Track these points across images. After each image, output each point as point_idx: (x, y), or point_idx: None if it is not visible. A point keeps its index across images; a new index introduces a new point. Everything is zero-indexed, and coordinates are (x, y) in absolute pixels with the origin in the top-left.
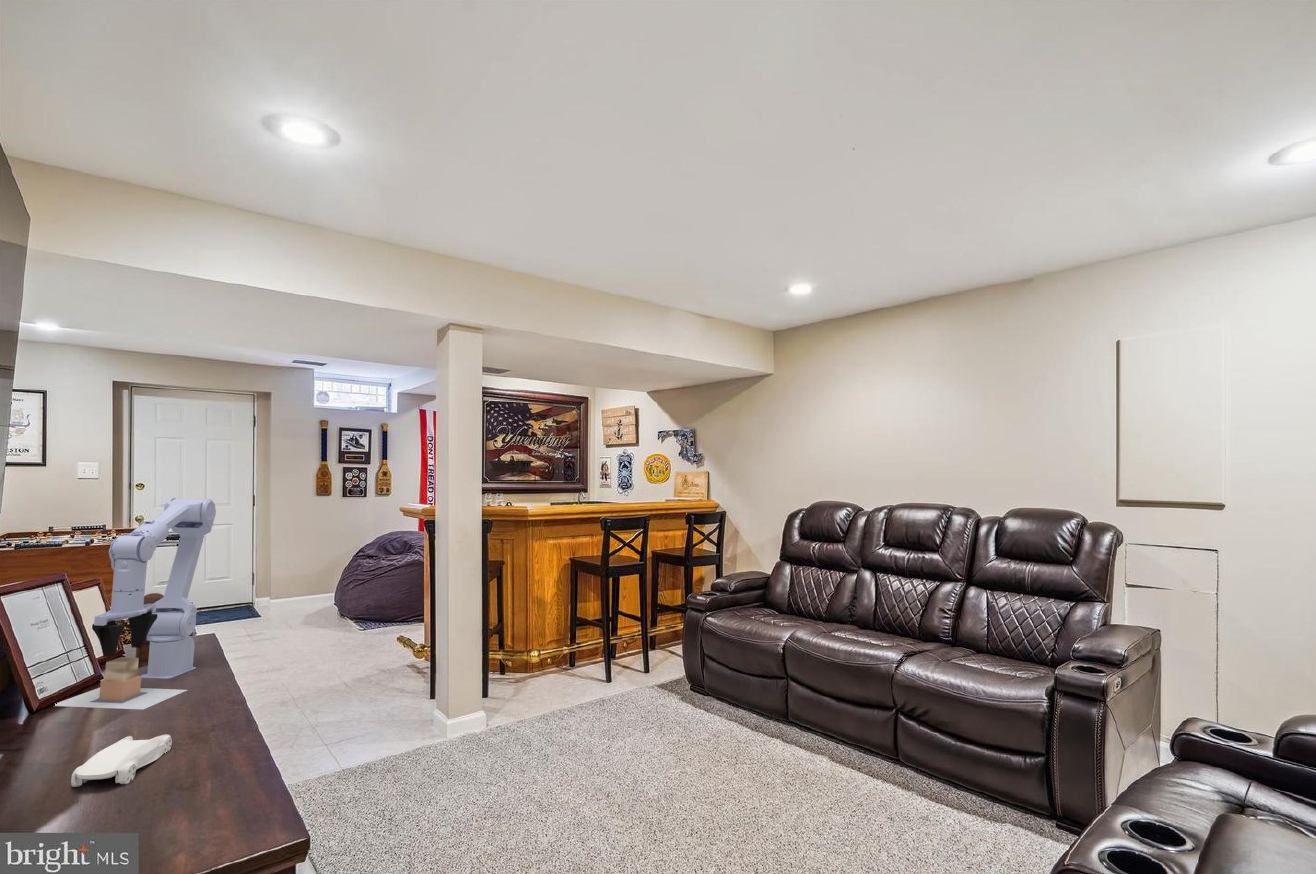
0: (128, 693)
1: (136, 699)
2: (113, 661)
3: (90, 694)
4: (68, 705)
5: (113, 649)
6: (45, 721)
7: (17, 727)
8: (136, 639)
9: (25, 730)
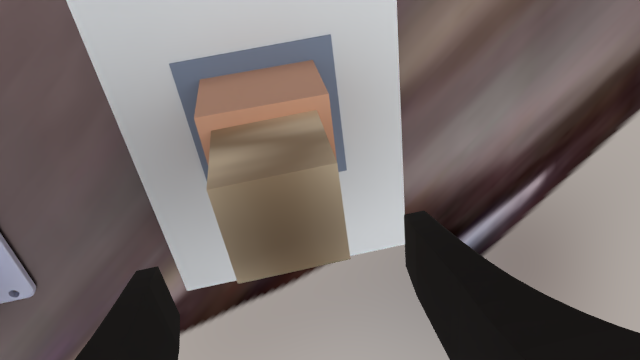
0: (276, 75)
1: (267, 20)
2: (327, 241)
3: None
4: (395, 198)
5: (455, 237)
6: (523, 131)
7: (576, 154)
8: (160, 347)
9: (607, 106)
